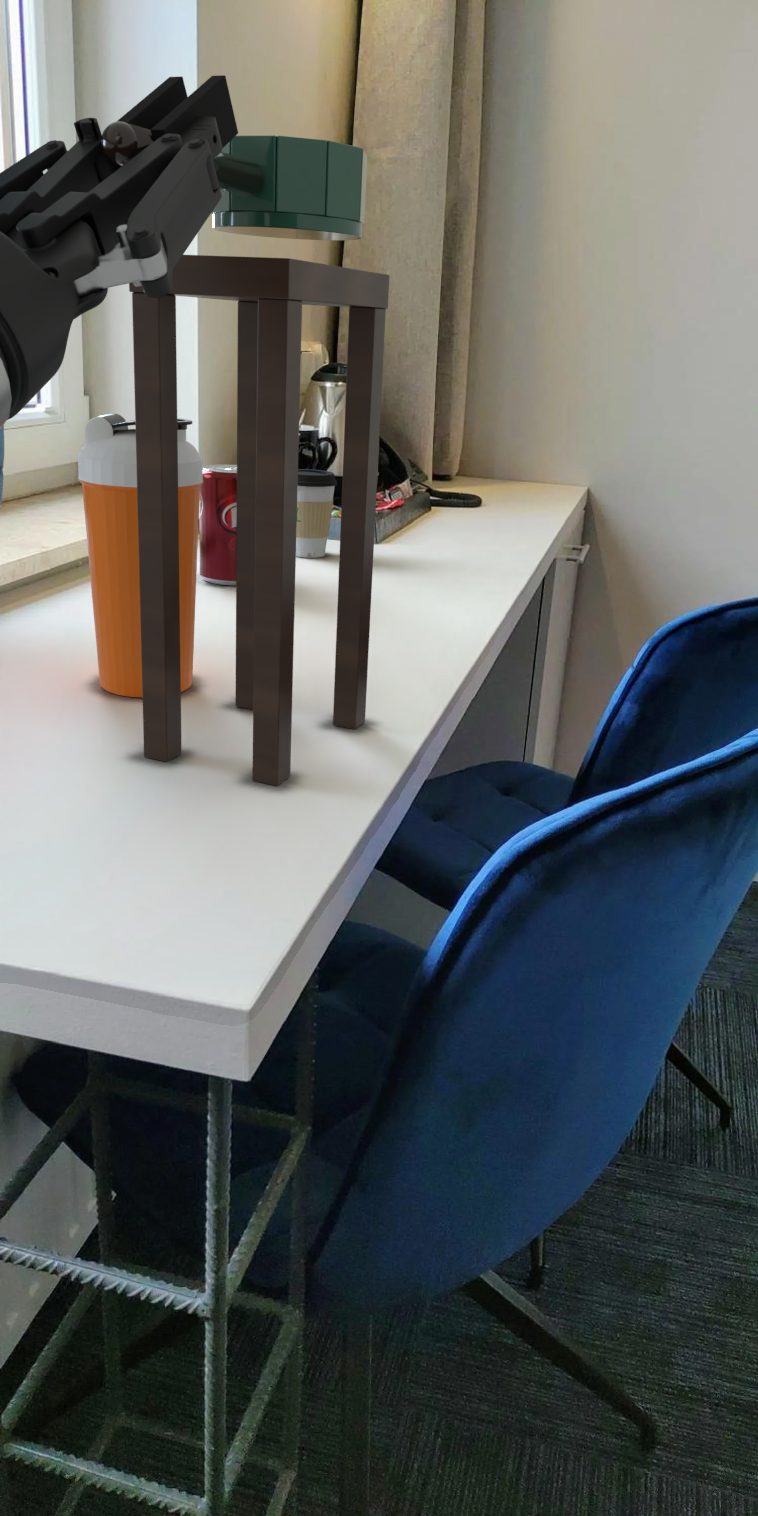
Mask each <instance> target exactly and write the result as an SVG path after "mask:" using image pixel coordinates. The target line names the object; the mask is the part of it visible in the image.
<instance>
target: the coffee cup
mask: <svg viewBox="0 0 758 1516" xmlns="http://www.w3.org/2000/svg"><path fill="white" fill-rule="evenodd" d="M335 477H336V476H335V473H334V472H332V471H329V470H323V469H322V470H321V469H309V468H308V469H306V468H305V469H303V468H298V487H297V527H296V558H297V557H298V558H305V559H315V558H322V557H325V555H326V551H327V550H326V549H327V541H328V537H329V533H330V527H331V522H332V521H331V519H332V513H333V508H334V507H333V506H334V493H335V486H337V485H338V481H337V480H336V478H335Z"/></svg>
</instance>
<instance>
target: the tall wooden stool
mask: <svg viewBox="0 0 758 1516" xmlns="http://www.w3.org/2000/svg"><path fill="white" fill-rule="evenodd" d="M389 291H390V275H389V274H386V273H382V272H381V273H380V272H376V271H375V272H374V271H368V270H364V269H363V270H362V269H356V268H350V267H344V266H338V265H332V264H326V263H319V262H314V261H307V260H301V259H296V258H288V257H261V256H236V255H235V256H233V255H232V256H231V255H203V254H201V255H200V254H183V255H182V257H181V258H180V260H179V261H178V263H177V264H176V266H175V267H174V269H173V270H172V291H171V292H169V293H168V294H166V295H165V296H162V297H158V298H148V297H146V296H145V293H144V290H143V287H142V286H140V287H136V286H134V285H133V283H128V292H130V293H131V307H132V311H131V312H132V313H131V314H132V346H133V348H132V349H133V382H134V383H133V384H134V387H133V388H134V420H135V425H134V427H135V429H136V466H137V504H138V542H139V580H140V619H141V657H142V695H143V698H142V724H143V725H142V729H143V731H142V732H143V734H142V735H143V757H144V758H147V759H152V760H157V761H161V762H165V763H168V762H169V761H171V760H173V759H175V758H177V757H178V756H180V755H181V754H182V752H183V751H182V750H183V749H182V747H183V745H182V692H181V668H180V591H179V514H178V437H177V418H178V381H177V380H178V378H177V377H178V374H177V373H178V371H177V370H178V368H177V364H178V363H177V361H178V360H177V298H176V297H184V298H185V297H186V298H187V297H188V298H199V299H209V300H210V299H211V300H223V301H234V302H237V369H236V370H237V373H236V375H237V377H236V380H237V381H236V382H237V383H236V384H237V385H236V386H237V387H236V465H237V531H236V586H235V707H237V708H242V709H247V710H252V771H251V772H252V773H251V774H252V778H251V779H252V782H258V783H261V784H267V785H272V786H275V787H278V786H279V785H281V784H283V783H284V782H285V781H286V780H288V779H289V778H290V777H291V763H292V761H291V759H292V725H293V723H292V722H293V721H292V717H293V687H294V685H293V683H294V680H293V679H294V677H293V676H294V641H295V640H294V639H295V605H296V603H295V602H296V562H297V561H296V560H297V559H296V558H297V556H296V527H297V487H298V469H299V444H300V443H299V442H300V441H299V440H300V407H301V406H300V403H301V401H300V400H301V399H300V398H301V365H302V364H301V361H302V327H303V326H302V325H303V324H302V323H303V306H320V307H321V306H323V307H342V308H343V307H344V308H348V329H347V355H346V356H347V357H346V378H345V379H346V381H345V407H344V408H345V409H344V428H343V429H344V430H343V455H342V456H343V458H342V481H341V508H340V536H339V559H338V560H339V561H338V581H337V582H338V583H337V585H338V586H337V587H338V588H337V607H336V608H337V609H336V610H337V611H336V631H335V632H336V633H335V635H336V636H335V657H334V658H335V659H334V685H333V687H334V688H333V708H332V709H333V710H332V711H333V712H332V725H333V726H336V727H341V728H346V729H352V730H356V729H358V728H360V726H362V725H363V724H365V722H366V709H367V708H366V706H367V687H368V670H369V669H368V667H369V652H370V651H369V649H370V648H369V647H370V632H371V631H370V628H371V608H372V589H373V572H374V571H373V569H374V552H375V551H374V549H375V533H376V532H375V531H376V509H377V490H378V473H379V472H378V469H379V451H380V431H381V429H380V428H381V410H382V393H383V373H384V372H383V371H384V351H385V334H386V333H385V332H386V331H385V330H386V315H387V313H386V310H388V308H389V296H390V295H389V294H390V292H389Z"/></svg>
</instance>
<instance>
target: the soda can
mask: <svg viewBox="0 0 758 1516" xmlns="http://www.w3.org/2000/svg"><path fill="white" fill-rule="evenodd" d="M236 531H237V464H224V463H223V464H207V465H203V484H202V485H201V486H200V496H199V522H198V544H199V545H198V547H199V575H200V576H201V578H202V579H203V580H204V581H205V582H207V583H211V584H214V585H221V586H232V587H233V586H235V587H236Z"/></svg>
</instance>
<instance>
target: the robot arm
mask: <svg viewBox="0 0 758 1516" xmlns="http://www.w3.org/2000/svg"><path fill="white" fill-rule="evenodd" d="M117 121H120V122H125V123H129V124H132V125H135V126H139V127H142V128H145V129H149V130H151V134H152V138H153V141H154V142H153V143H152V144H150V145H149V146H148V147H146V148H145V149H144V150H143V151H141V152H140V153H139V154H137V155H136V156H135V157H133V158H132V159H131V160H130V161H128V162H127V163H126V164H124V165H123V166H121V165H117V164H115V163H113V162H112V161H110V160H109V159H108V158H107V157H106V155H105V153H104V151H103V149H102V144H101V138H102V134H103V133H102V131H101V128H100V124H99V122H98V119H97V118H96V117H84V118H81V119H79V120H77V121H75V122H73V126H74V129H75V133H76V135H77V138H78V141H76V143H75V144H74V145H73V146H71V147H70V148H69V150H67V147H66V144H65V142H64V141H63V140H56V139H54V140H49V141H47V142H46V143H45V144H42V145H41V146H40V147H38V148H36V149H35V150H33V151H32V152H30V153H29V154H27V155H26V156H24V157H23V158H21V159H19V160H17V161H16V162H15V163H13V164H12V165H9V167H7V168H6V169H4V170H3V171H1V172H0V509H1V508H2V502H3V501H2V500H3V492H4V491H3V490H4V470H3V469H4V462H5V424H6V422H7V421H9V420H11V419H13V418H14V417H15V416H16V415H18V414H19V412H21V411H22V410H23V409H24V407H26V405H28V403H29V402H30V401H31V400H32V399H33V398H34V397H36V395H37V394H38V393H40V391H41V390H42V389H43V388H44V387H45V386H46V385H47V384H48V383H49V381H51V380H52V378H54V376H56V374H57V373H58V372H59V370H60V368H61V366H62V364H63V361H64V359H65V355H66V350H67V346H68V340H69V336H70V331H71V327H72V324H73V322H74V320H75V319H77V318H79V317H80V316H81V315H83V314H85V313H87V312H89V311H91V310H93V309H94V308H97V307H99V305H101V304H102V303H103V301H104V300H105V299H106V297H107V296H108V292H109V288H114V287H119V286H123V285H129V283H133V285H134V286H136V287H140V286H142V287H143V290H144V293H145V296H146V297H148V298H158V297H162V296H165V295H166V294H168V293H169V292H171V291H172V270H173V269H174V267H175V266H176V264H177V263H178V261H179V260H180V258H181V257H182V255H185V252H186V251H187V250H188V248H189V246H190V245H191V244H192V242H193V241H194V239H195V237H196V236H197V235H198V233H199V232H200V230H201V229H202V227H203V226H204V225H205V223H206V221H207V220H208V219H209V217H210V216H211V215H212V214H211V213H212V211H213V210H214V208H215V207H216V205H217V204H218V202H219V201H220V199H221V197H222V195H221V191H220V187H219V183H218V179H217V175H216V171H215V167H214V163H213V159H215V158H216V156H218V155H219V154H220V153H221V152H222V149H223V148H224V147H225V146H226V145H227V144H228V143H229V142H230V141H231V140H232V139H233V138H234V137H235V136H238V134H239V130H238V125H237V121H236V117H235V113H234V108H233V104H232V99H231V94H230V90H229V85H228V80H227V76H226V74H225V75H224V74H223V75H211V76H210V77H209V78H207V79H206V80H205V81H204V82H203V83H202V84H201V85H200V86H198V88H197V89H195V90H194V91H193V92H192V93H191V94H190V95H188V93H187V88H186V85H185V81H184V78H183V76H169V77H168V78H166V79H165V80H164V81H163V82H162V83H160V85H158V86H157V87H155V89H153V90H152V91H151V92H150V93H149V94H148V95H146V96H145V97H143V99H141V100H140V101H138V103H136V105H134V106H133V107H132V108H131V109H130V110H128V111H127V112H126V113H125V114H123V115H122V116H121V117H120V118H119V119H118V120H116V121H115V122H117ZM46 170H47V171H46ZM44 172H45V173H44Z"/></svg>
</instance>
